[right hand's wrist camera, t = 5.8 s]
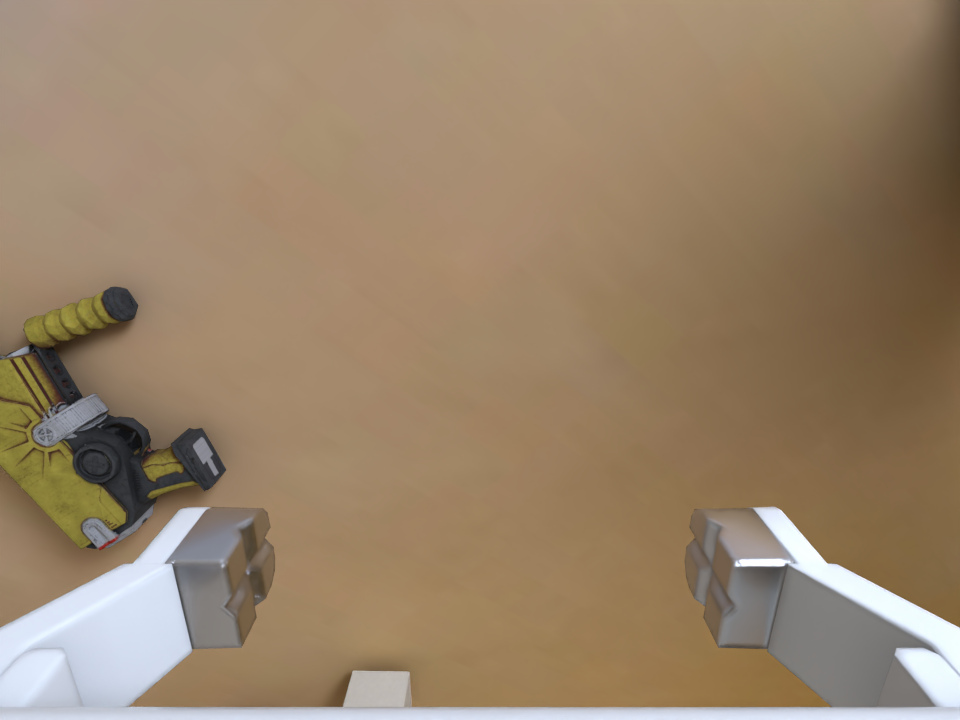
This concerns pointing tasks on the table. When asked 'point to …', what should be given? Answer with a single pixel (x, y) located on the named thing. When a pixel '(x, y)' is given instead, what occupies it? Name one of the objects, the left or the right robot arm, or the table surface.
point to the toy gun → (87, 435)
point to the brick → (378, 689)
